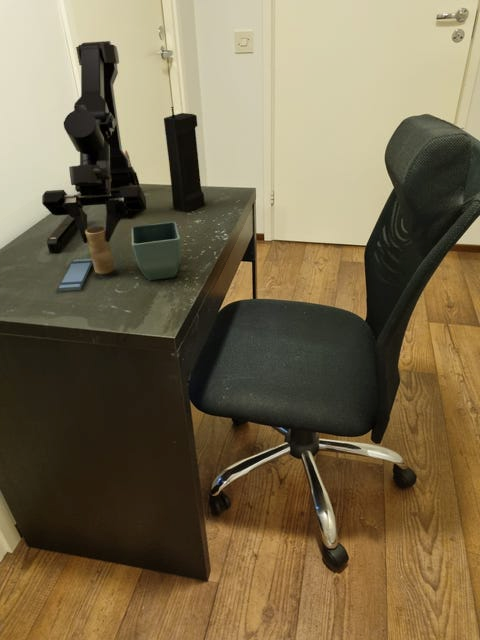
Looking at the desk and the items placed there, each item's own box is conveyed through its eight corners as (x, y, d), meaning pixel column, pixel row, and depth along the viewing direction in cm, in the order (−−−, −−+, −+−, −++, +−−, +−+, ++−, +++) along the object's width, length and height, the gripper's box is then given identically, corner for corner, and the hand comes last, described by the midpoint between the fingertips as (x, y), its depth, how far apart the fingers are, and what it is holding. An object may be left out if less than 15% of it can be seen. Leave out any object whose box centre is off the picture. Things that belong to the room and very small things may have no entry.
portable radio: (190, 199, 129) (180, 101, 115) (207, 203, 126) (198, 102, 112) (171, 208, 124) (157, 106, 110) (188, 212, 121) (176, 108, 107)
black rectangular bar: (74, 222, 120) (71, 211, 118) (83, 222, 120) (81, 210, 118) (48, 253, 105) (44, 241, 103) (60, 252, 105) (56, 240, 103)
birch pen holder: (92, 274, 93) (82, 234, 88) (97, 264, 96) (87, 225, 91) (112, 273, 93) (103, 233, 88) (116, 263, 96) (108, 224, 91)
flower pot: (185, 281, 91) (180, 238, 86) (140, 287, 90) (131, 244, 85) (180, 261, 98) (175, 220, 93) (138, 267, 97) (130, 226, 92)
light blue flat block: (59, 291, 90) (58, 287, 90) (74, 263, 100) (73, 259, 100) (80, 290, 90) (79, 286, 90) (93, 261, 100) (92, 258, 100)
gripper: (29, 147, 85) (28, 229, 82) (133, 141, 85) (135, 222, 82) (53, 177, 96) (53, 250, 93) (145, 171, 96) (147, 244, 93)
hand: (96, 241), depth 90 cm, fingers closed on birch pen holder, 4 cm apart
